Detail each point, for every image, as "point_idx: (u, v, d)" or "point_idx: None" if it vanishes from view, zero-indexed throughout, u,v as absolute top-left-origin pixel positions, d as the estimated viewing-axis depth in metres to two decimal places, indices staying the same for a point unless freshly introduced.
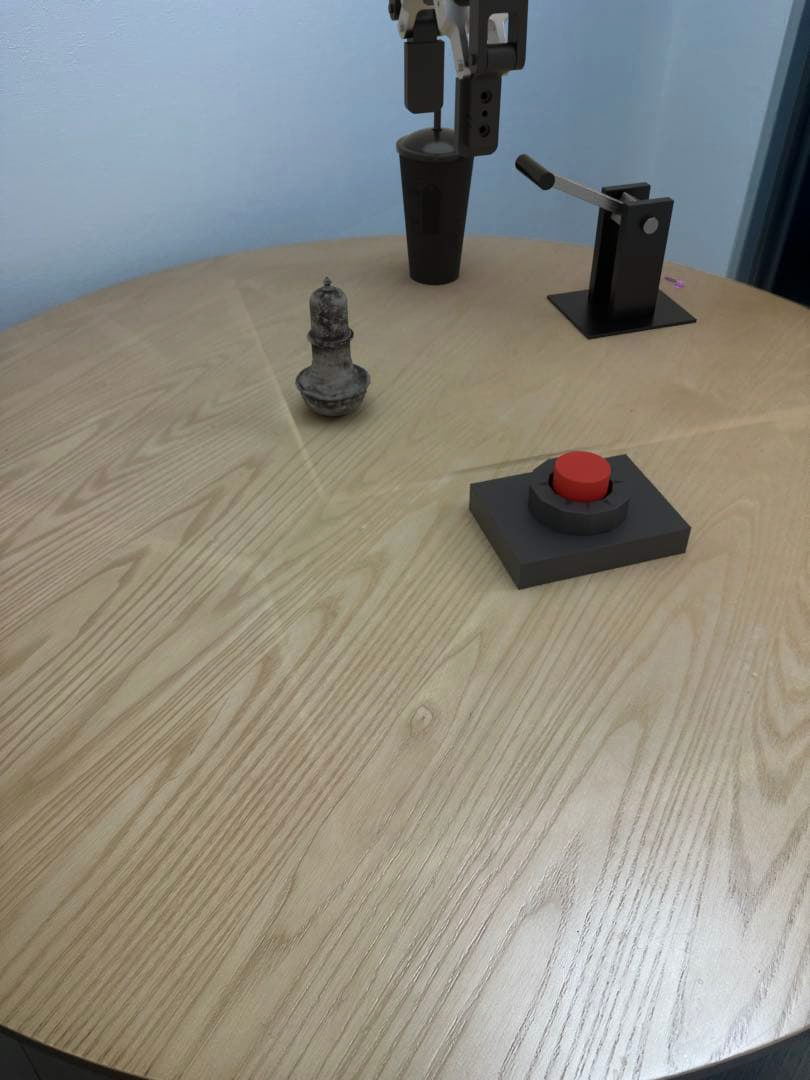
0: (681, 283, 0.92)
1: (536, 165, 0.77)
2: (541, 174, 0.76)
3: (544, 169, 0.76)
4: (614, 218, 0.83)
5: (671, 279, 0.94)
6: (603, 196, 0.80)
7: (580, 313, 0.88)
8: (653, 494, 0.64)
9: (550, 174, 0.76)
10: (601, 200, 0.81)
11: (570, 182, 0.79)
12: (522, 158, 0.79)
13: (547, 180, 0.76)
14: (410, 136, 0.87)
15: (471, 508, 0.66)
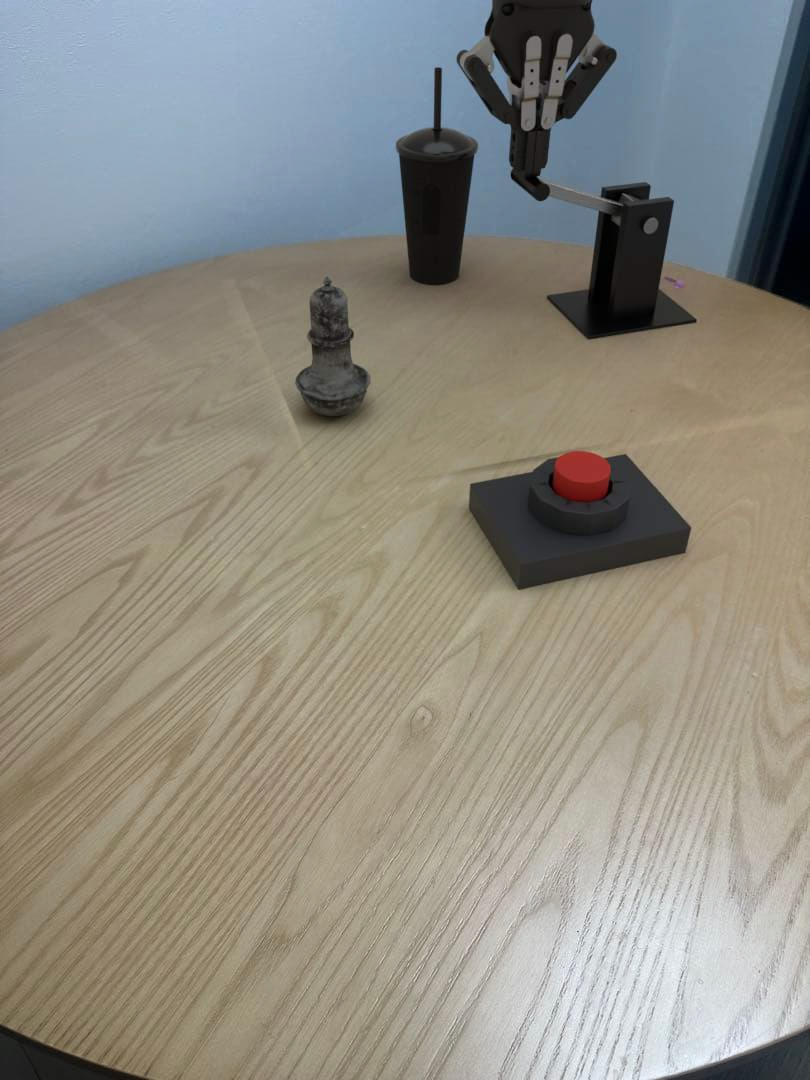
0: (681, 283, 0.92)
1: None
2: (536, 186, 0.76)
3: (538, 180, 0.77)
4: (614, 220, 0.83)
5: (671, 279, 0.94)
6: (601, 200, 0.81)
7: (580, 313, 0.88)
8: (653, 494, 0.64)
9: (545, 185, 0.76)
10: (599, 204, 0.81)
11: (566, 189, 0.79)
12: None
13: (542, 191, 0.76)
14: (410, 136, 0.87)
15: (471, 508, 0.66)
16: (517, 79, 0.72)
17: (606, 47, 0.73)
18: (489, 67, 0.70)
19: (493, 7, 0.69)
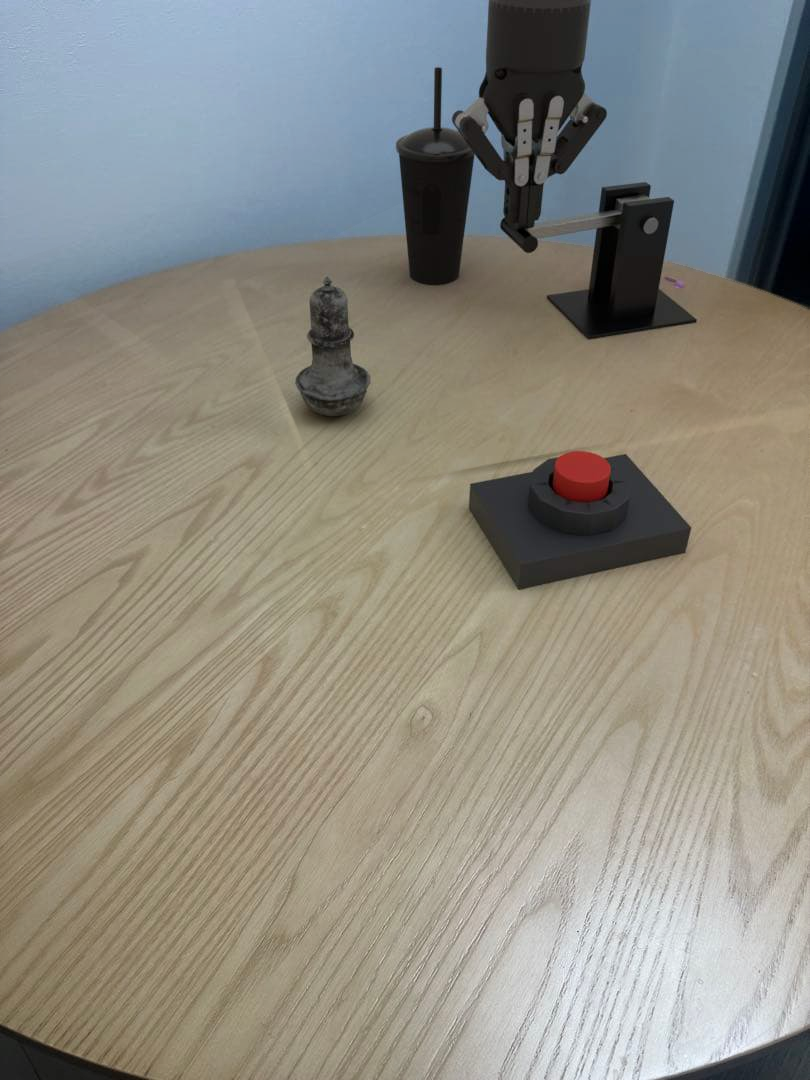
0: (681, 283, 0.92)
1: (516, 230, 0.80)
2: (522, 241, 0.79)
3: (524, 234, 0.79)
4: (616, 226, 0.84)
5: (671, 279, 0.94)
6: (594, 219, 0.82)
7: (580, 313, 0.88)
8: (653, 494, 0.64)
9: (530, 238, 0.79)
10: (594, 223, 0.82)
11: (556, 225, 0.81)
12: (504, 224, 0.82)
13: (530, 244, 0.79)
14: (410, 136, 0.87)
15: (471, 508, 0.66)
16: (510, 138, 0.75)
17: (596, 106, 0.75)
18: (483, 128, 0.73)
19: (487, 71, 0.72)
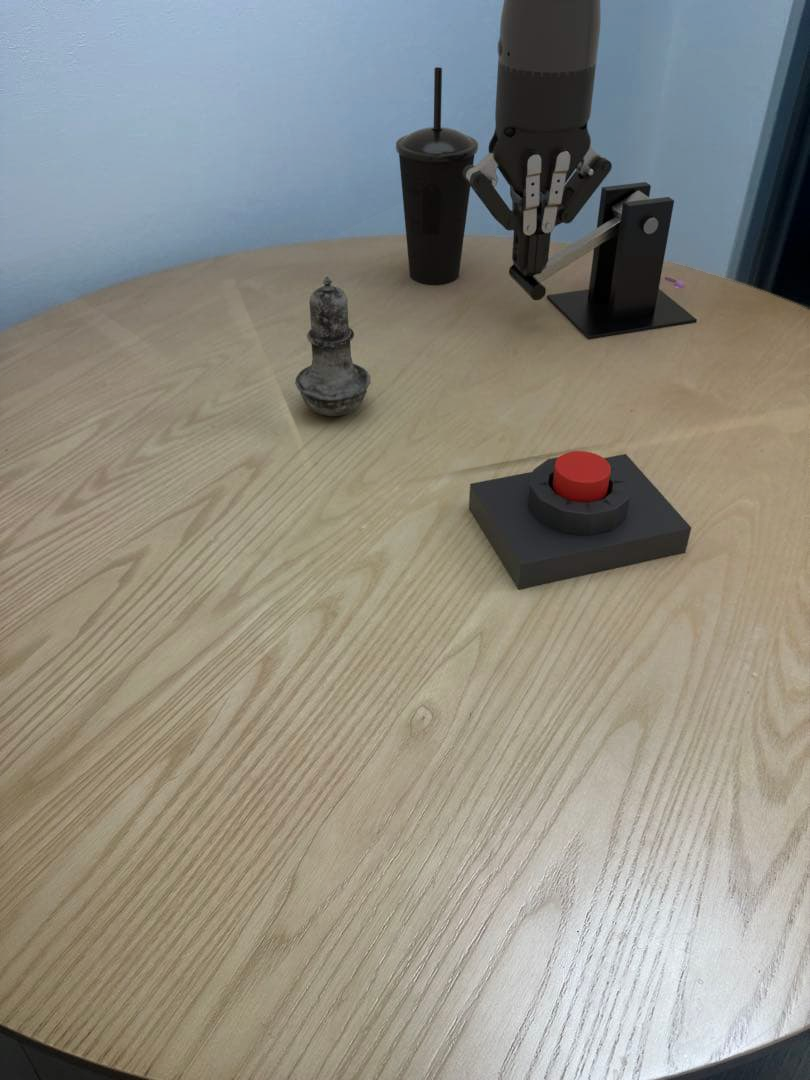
0: (681, 283, 0.92)
1: (523, 281, 0.83)
2: (529, 293, 0.82)
3: (529, 284, 0.82)
4: None
5: (671, 279, 0.94)
6: (595, 238, 0.83)
7: (580, 313, 0.88)
8: (653, 494, 0.64)
9: (536, 287, 0.82)
10: (596, 241, 0.83)
11: (559, 260, 0.83)
12: (512, 274, 0.85)
13: (538, 292, 0.82)
14: (410, 136, 0.87)
15: (471, 508, 0.66)
16: (519, 190, 0.77)
17: (602, 159, 0.78)
18: (493, 182, 0.76)
19: (497, 128, 0.75)
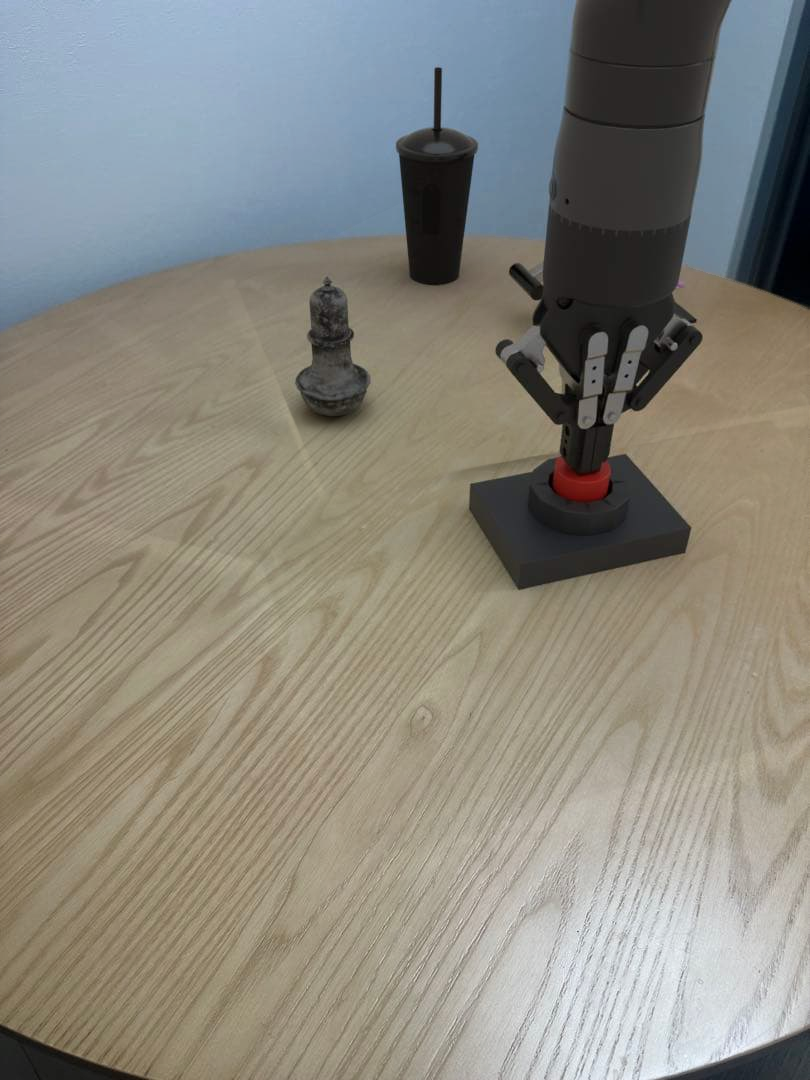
0: (681, 283, 0.92)
1: (523, 281, 0.83)
2: (529, 293, 0.82)
3: (529, 284, 0.82)
4: None
5: None
6: None
7: None
8: (653, 494, 0.64)
9: (536, 287, 0.82)
10: None
11: None
12: (512, 274, 0.85)
13: (538, 292, 0.82)
14: (410, 136, 0.87)
15: (471, 508, 0.66)
16: (574, 374, 0.55)
17: (689, 328, 0.56)
18: (539, 367, 0.54)
19: (545, 294, 0.53)
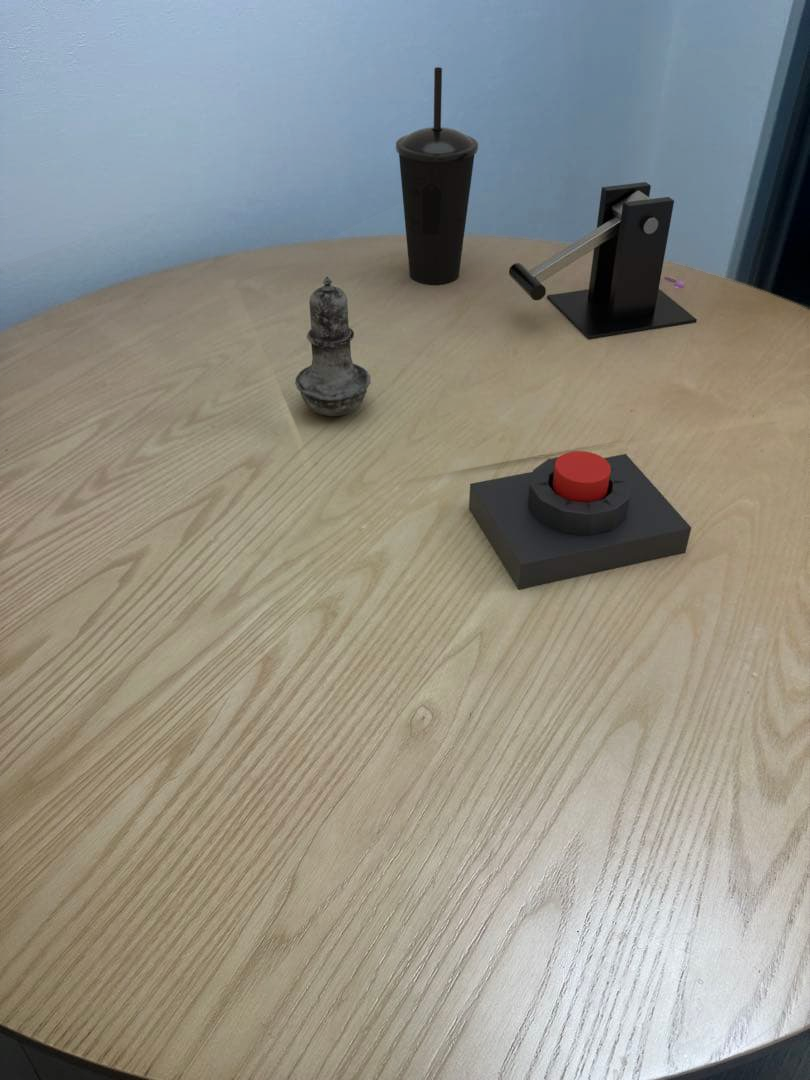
0: (681, 283, 0.92)
1: (523, 281, 0.83)
2: (529, 293, 0.82)
3: (529, 284, 0.82)
4: None
5: (671, 279, 0.94)
6: (595, 238, 0.83)
7: (580, 313, 0.88)
8: (653, 494, 0.64)
9: (536, 287, 0.82)
10: (596, 241, 0.83)
11: (559, 260, 0.83)
12: (512, 274, 0.85)
13: (538, 292, 0.82)
14: (410, 136, 0.87)
15: (471, 508, 0.66)
16: None
17: None
18: None
19: None
